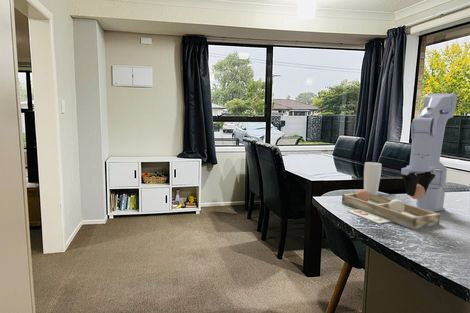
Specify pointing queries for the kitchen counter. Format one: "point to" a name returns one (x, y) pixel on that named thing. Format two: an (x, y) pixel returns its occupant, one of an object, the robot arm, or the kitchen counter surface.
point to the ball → (363, 195)
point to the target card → (369, 216)
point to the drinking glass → (372, 176)
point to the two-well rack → (380, 207)
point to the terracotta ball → (418, 192)
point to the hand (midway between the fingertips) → (416, 194)
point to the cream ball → (396, 205)
